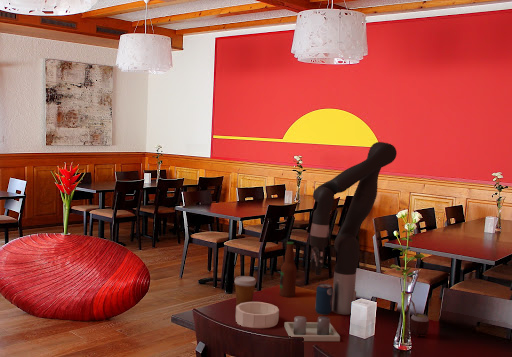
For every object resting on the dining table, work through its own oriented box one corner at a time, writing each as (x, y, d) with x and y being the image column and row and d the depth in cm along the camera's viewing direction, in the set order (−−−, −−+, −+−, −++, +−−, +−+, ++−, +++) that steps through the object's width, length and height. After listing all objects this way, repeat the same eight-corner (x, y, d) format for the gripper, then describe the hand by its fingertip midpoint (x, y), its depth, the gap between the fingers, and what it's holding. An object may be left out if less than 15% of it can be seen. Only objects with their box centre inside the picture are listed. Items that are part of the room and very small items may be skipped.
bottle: (287, 292, 272) (290, 240, 269) (298, 296, 266) (301, 243, 264) (276, 294, 267) (279, 241, 265) (286, 298, 261) (290, 244, 259)
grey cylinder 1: (304, 331, 218) (305, 316, 218) (306, 335, 214) (307, 320, 213) (292, 331, 217) (293, 316, 217) (294, 335, 213) (295, 320, 212)
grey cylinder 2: (327, 331, 219) (328, 316, 219) (330, 336, 215) (331, 320, 214) (315, 331, 219) (316, 316, 218) (318, 336, 214) (319, 320, 214)
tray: (329, 328, 225) (329, 322, 224) (339, 342, 210) (340, 336, 210) (284, 327, 222) (284, 322, 222) (291, 342, 208) (291, 336, 207)
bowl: (274, 315, 237) (274, 302, 236) (280, 329, 220) (281, 315, 220) (234, 314, 235) (234, 301, 234) (237, 328, 218) (238, 314, 218)
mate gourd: (430, 335, 223) (433, 297, 221) (423, 340, 216) (426, 302, 215) (411, 330, 227) (414, 293, 226) (404, 335, 220) (407, 297, 219)
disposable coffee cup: (254, 310, 242) (256, 282, 241) (232, 308, 242) (233, 281, 241) (255, 303, 252) (256, 276, 251) (233, 302, 252) (235, 275, 251)
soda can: (334, 314, 241) (336, 287, 240) (319, 316, 239) (321, 287, 238) (326, 309, 248) (328, 282, 247) (312, 310, 245) (313, 283, 244)
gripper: (332, 238, 233) (328, 277, 234) (324, 232, 247) (320, 268, 248) (314, 237, 232) (310, 276, 233) (307, 230, 246) (303, 267, 247)
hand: (315, 272), depth 241 cm, fingers open, 8 cm apart
